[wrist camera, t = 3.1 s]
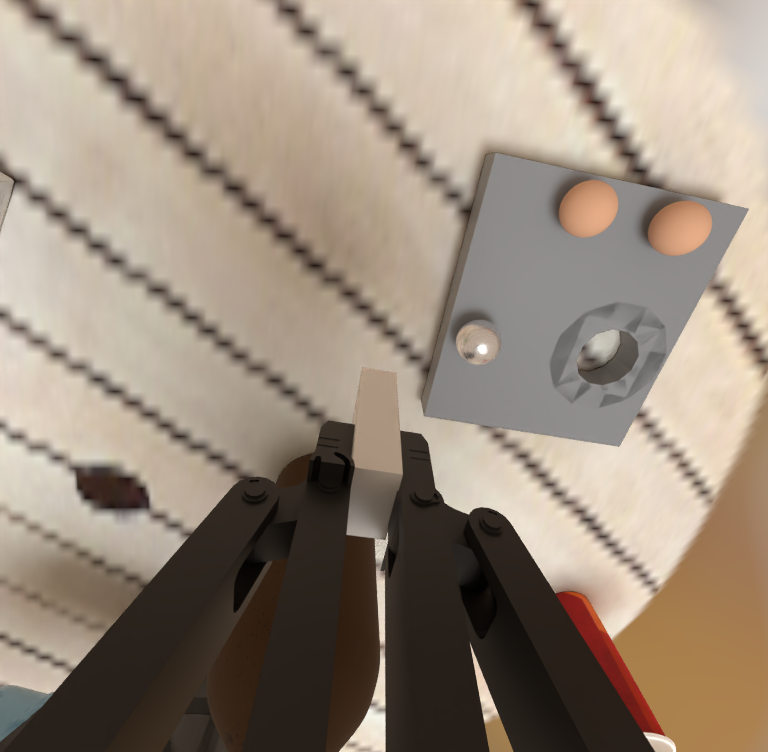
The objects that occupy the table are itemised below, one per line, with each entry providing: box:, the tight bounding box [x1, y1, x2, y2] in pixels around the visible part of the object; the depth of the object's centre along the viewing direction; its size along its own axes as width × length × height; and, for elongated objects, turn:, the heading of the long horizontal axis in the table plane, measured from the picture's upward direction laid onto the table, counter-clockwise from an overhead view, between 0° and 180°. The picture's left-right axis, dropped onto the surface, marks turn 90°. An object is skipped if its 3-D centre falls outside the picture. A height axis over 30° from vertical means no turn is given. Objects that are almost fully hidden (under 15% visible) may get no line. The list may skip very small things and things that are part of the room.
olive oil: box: [207, 454, 380, 752], centre depth 28 cm, size 11×11×25 cm
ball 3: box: [648, 201, 712, 256], centre depth 25 cm, size 3×3×3 cm
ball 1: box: [456, 320, 503, 366], centre depth 28 cm, size 3×3×3 cm
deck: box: [421, 153, 749, 447], centre depth 30 cm, size 17×19×2 cm
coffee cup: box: [556, 592, 676, 752], centre depth 41 cm, size 8×8×15 cm
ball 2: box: [559, 180, 618, 238], centre depth 24 cm, size 3×3×3 cm
